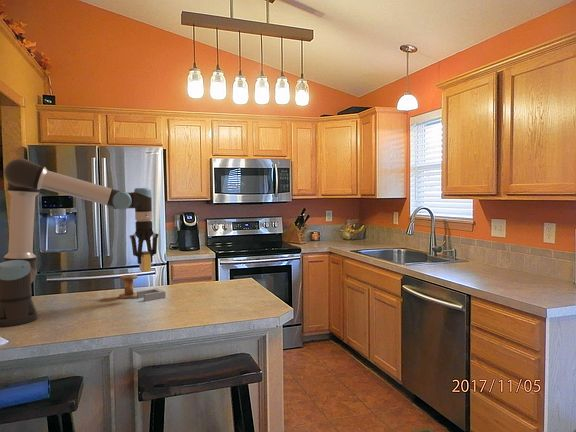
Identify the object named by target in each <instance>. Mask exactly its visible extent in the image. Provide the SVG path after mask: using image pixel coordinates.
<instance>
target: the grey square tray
mask: <svg viewBox="0 0 576 432" xmlns="http://www.w3.org/2000/svg"><path fill="white" fill-rule="evenodd" d="M136 293H137V297H136V298H137V299H141V298H143V301H144V302H149V301H155V300H159V299H160V300H161V299H165V298H166V295H167V294H166V291H165V290H164V289H163V290H162V289H160V288H157V287H156V288H150V289H145V290H143V289H142V290H137V291H136Z"/></svg>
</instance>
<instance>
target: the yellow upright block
mask: <svg viewBox="0 0 576 432" xmlns="http://www.w3.org/2000/svg"><path fill="white" fill-rule="evenodd" d="M141 257H143V271H142V272H143V273H145V272H151V270H152V263H151V264H150V252H148V250H146V251H145V250H144V251H143V250H142V255H141Z"/></svg>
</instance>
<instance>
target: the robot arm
mask: <svg viewBox="0 0 576 432" xmlns="http://www.w3.org/2000/svg"><path fill="white" fill-rule="evenodd" d="M3 176H4V178H5V180H6V181H7V191H6V192H7V193H8V194H9V195H10V199H11V200H10V214H9V215H10V216H9V217H10V218H9V219H10V220H9V233H8V234H9V236H8V252H7V254H5V255H4V256H3V262H0V327H10V326H17V325H18V326H19V325H23V324H28V323H30V322H33V321H36V320H37V319H38V316H39V315H38V310H37V308H36V305H35V304H34V301H33V299H32V297H33V295H32V283H33V282H34V281H35V279H36V277H37V274H38V269H37V255H36V254H34V253H33V248H34V247H33V246H34V245H33V244H34V230H35V229H34V227H35V226H34V224H35V210H36V197H37V196H38V195H39V194H40V193H41V191H40V190H41V189H44V190H47V191H51V192H55V193H59V194H63V195H65V196H69V197H74V198H76V199H77V198H78V199H81V200H85V201H88V202H89V201H90V202H92V203H93V202H94V203H96V204H101V205H104V206H107V207H106V208H108V210H109V209H110V210H127V209H134V216H135V217H134V220H135V222H134V225H135V232H134V234H131V235H129V239H130V241H131V242H130V243H131V249H132V250H131V251H132V255H133V256H134V257H136V258H137V264H138V265H139V271H141V272H143V257H141V255H142V252H143V244H144V241H145V243H146V247H147V248H146V249H147V252H150V264H151V265H152V263H153V261H154V260H153V256H154V255H157V252H158V251H157V249H158V248H157V247H158V238H159V233H157V232H156V233H155V232H154V230H153V221H152V220H153V211H152V210H153V208H152V206H153V205H152V202H153V201H152V190H151V189H150V188H149V187H136V188H134V191H131V192H125V191H123V190H122V191H121V190H118V189H114V188H111V187H107V186H103V185H100V184H96V183H93V182H89V181H86V180H83V179H79V178H76V177H72V176H68V175H65V174H61V173H57V172H54V171H50V170H48V169H47V167H46V166H42V165H39V164H37V163H35V162H32V161H31V160H29V159H26V158H15V159H11V160H10V161H9V162H8V163H7V164H6V165H5V167H4V170H3ZM136 238H137V241H136ZM151 238H152V240H151ZM151 241H152V242H151ZM137 242H138V244H137Z"/></svg>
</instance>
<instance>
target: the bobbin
mask: <svg viewBox="0 0 576 432" xmlns="http://www.w3.org/2000/svg"><path fill="white" fill-rule="evenodd" d="M137 278H138V275H137V274H125V275H120V276H119V280H122V281H123V282H124V283H123V285H124V293H120V294H118V298H119V299H122V300H123V299H124V300H126V299H135V298H137V292H135V291H134V280H135V279H137Z"/></svg>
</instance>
